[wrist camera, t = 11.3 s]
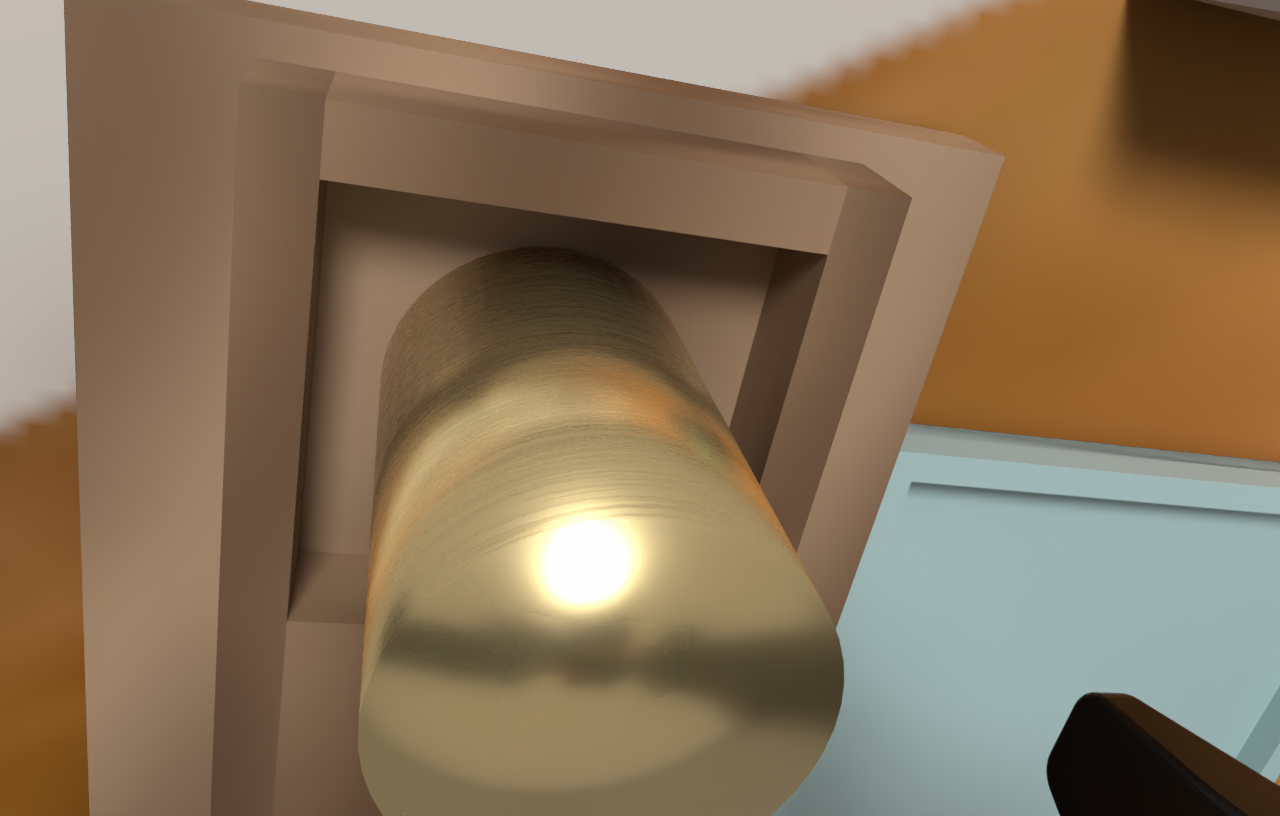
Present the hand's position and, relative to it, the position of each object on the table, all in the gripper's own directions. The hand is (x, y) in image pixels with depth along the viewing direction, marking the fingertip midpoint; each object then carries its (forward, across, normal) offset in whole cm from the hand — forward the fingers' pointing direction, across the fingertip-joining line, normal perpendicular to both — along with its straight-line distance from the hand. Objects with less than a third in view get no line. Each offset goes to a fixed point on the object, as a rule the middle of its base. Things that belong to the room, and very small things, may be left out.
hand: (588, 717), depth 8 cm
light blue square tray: (+7, -11, +6) cm, 15 cm away
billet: (+6, 0, 0) cm, 6 cm away
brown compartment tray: (+7, 0, +5) cm, 9 cm away
